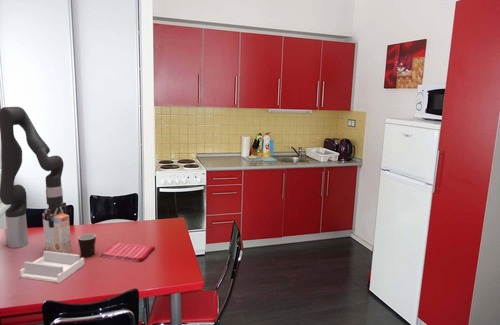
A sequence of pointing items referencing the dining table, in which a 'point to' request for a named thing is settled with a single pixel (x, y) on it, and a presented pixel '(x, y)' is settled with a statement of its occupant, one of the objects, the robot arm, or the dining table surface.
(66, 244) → the cracker box
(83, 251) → the coffee mug
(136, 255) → the dish towel
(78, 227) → the dining table surface
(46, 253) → the white shallow tray
